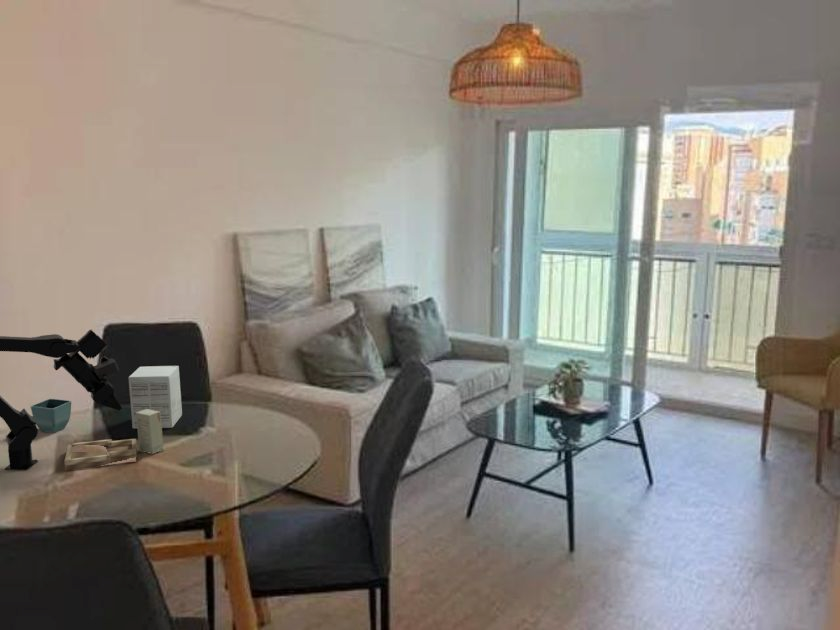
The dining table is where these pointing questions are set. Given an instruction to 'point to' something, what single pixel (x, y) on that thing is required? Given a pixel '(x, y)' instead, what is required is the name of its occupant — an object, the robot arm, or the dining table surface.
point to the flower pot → (51, 414)
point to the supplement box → (156, 393)
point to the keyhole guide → (88, 460)
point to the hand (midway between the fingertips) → (117, 405)
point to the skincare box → (149, 431)
